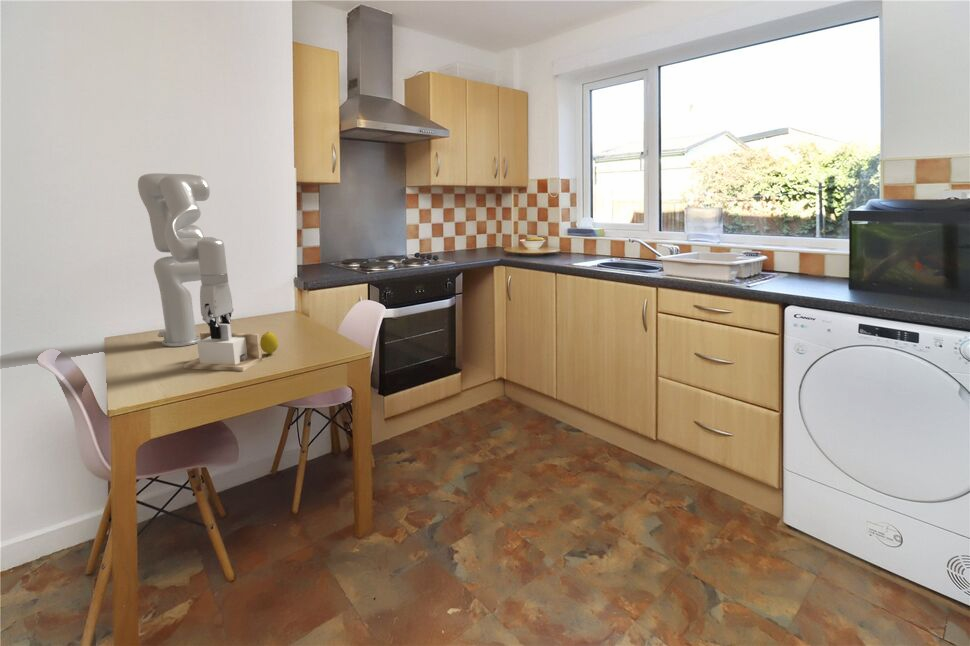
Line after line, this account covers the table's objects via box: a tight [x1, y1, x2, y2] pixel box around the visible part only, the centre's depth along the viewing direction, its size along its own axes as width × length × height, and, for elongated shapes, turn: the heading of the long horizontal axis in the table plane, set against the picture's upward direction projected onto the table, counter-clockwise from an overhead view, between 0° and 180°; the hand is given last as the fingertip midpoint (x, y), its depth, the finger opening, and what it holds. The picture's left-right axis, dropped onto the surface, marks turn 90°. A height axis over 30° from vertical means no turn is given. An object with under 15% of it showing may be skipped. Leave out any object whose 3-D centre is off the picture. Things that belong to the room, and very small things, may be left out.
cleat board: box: [182, 331, 263, 372], centre depth 174 cm, size 20×11×9 cm, turn 82°
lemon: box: [260, 331, 279, 355], centre depth 185 cm, size 6×6×8 cm
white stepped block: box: [196, 323, 248, 365], centre depth 173 cm, size 12×7×12 cm, turn 82°
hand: (221, 335), depth 173 cm, fingers open, 4 cm apart
